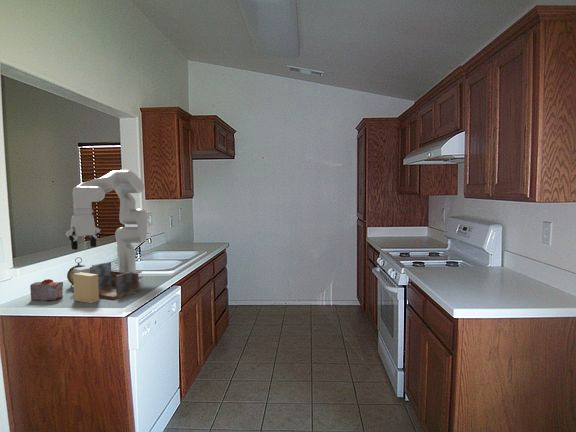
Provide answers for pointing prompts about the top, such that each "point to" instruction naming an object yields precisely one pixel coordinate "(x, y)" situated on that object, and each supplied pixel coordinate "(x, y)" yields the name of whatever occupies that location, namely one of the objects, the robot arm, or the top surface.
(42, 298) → the food item
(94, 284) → the book
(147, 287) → the top surface
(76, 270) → the supplement box
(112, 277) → the shelf
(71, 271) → the alarm clock
